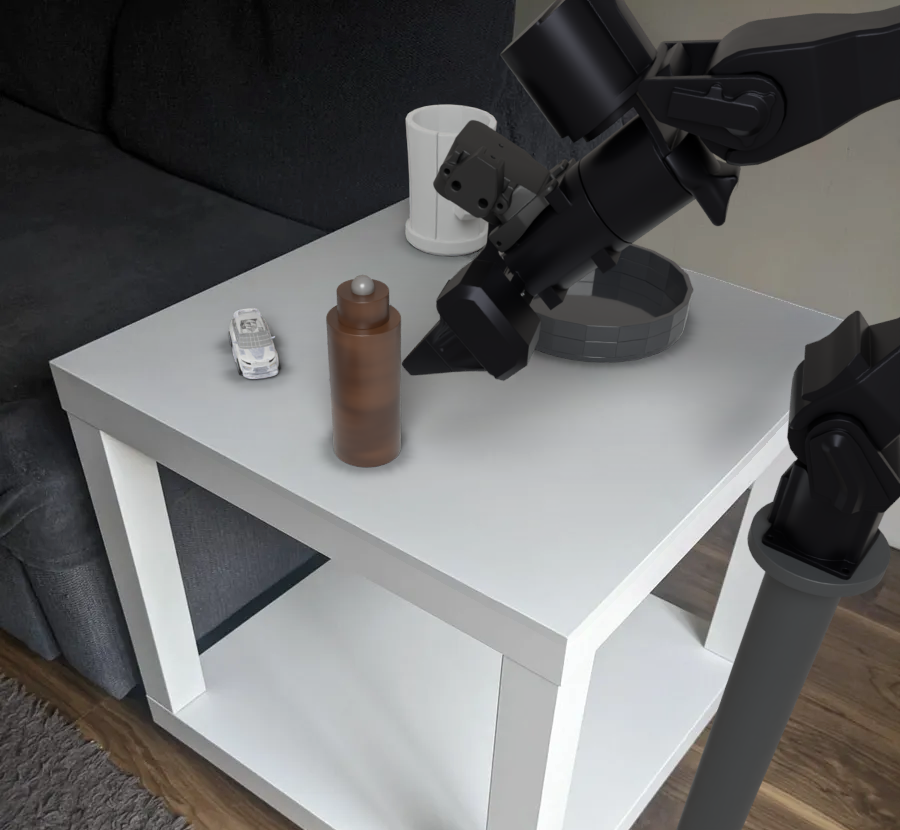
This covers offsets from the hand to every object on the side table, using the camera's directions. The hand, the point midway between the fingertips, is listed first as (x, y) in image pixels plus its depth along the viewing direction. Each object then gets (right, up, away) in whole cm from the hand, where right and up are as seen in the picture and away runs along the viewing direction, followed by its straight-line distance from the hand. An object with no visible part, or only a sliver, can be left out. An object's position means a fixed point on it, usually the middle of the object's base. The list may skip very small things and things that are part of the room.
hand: (426, 336), depth 68 cm
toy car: (-15, +3, +17) cm, 23 cm away
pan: (+15, +9, +25) cm, 30 cm away
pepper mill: (-5, -6, +8) cm, 11 cm away
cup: (+2, +19, +35) cm, 40 cm away
